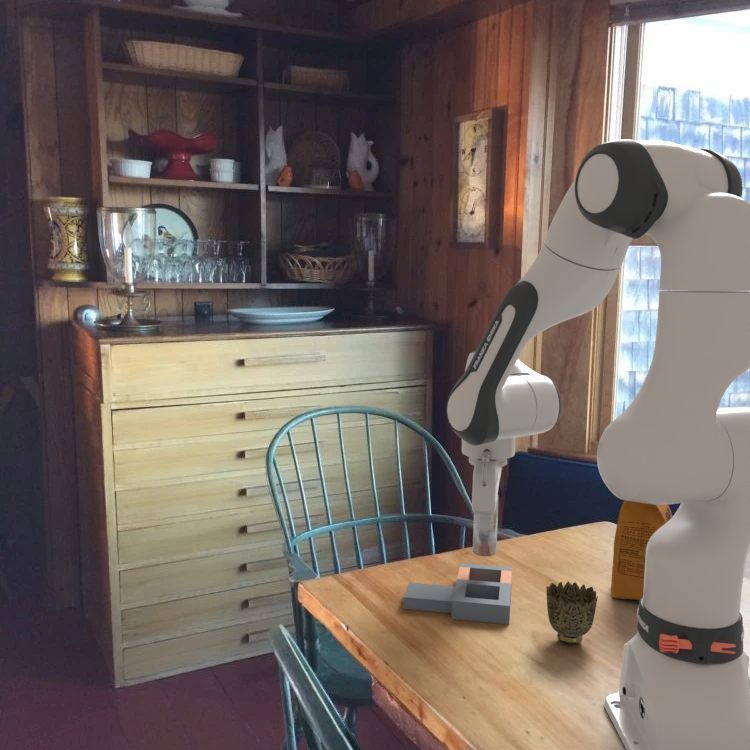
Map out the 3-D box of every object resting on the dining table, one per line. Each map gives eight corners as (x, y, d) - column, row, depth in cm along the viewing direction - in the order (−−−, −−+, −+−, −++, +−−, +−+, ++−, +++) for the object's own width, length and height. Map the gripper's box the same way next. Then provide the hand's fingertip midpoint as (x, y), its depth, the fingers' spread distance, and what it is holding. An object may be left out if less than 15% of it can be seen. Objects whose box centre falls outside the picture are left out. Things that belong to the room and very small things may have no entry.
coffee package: (679, 586, 139) (688, 463, 136) (664, 612, 129) (672, 480, 126) (622, 574, 144) (628, 455, 141) (602, 598, 134) (609, 471, 131)
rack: (509, 624, 124) (509, 606, 124) (401, 614, 127) (401, 596, 127) (511, 583, 140) (512, 567, 139) (415, 575, 143) (415, 559, 143)
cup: (596, 656, 114) (599, 604, 113) (544, 651, 116) (546, 599, 115) (593, 633, 122) (596, 583, 120) (544, 628, 123) (546, 578, 122)
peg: (495, 557, 133) (498, 499, 132) (471, 555, 134) (473, 498, 132) (497, 548, 137) (499, 492, 135) (473, 546, 138) (475, 490, 136)
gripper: (505, 460, 122) (502, 546, 124) (509, 431, 142) (506, 506, 144) (464, 458, 123) (461, 543, 125) (473, 429, 143) (471, 503, 145)
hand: (485, 523), depth 135 cm, fingers closed on peg, 4 cm apart
